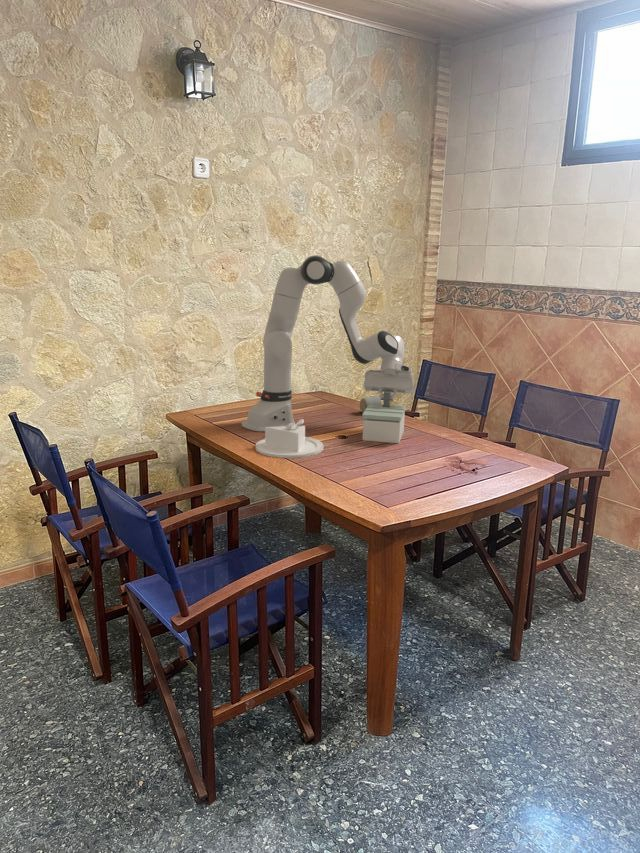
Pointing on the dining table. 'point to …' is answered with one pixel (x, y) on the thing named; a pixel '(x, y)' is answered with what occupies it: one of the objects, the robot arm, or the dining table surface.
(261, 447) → the dish
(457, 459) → the cloth
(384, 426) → the tub
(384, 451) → the dining table surface
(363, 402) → the ceramic mug
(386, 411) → the lid
